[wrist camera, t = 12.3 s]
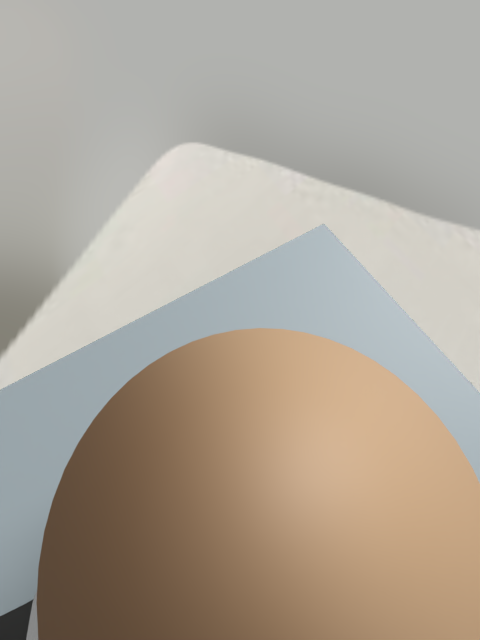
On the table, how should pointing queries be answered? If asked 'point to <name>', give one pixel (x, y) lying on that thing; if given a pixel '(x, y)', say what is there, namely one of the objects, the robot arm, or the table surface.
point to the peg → (263, 504)
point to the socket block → (196, 323)
